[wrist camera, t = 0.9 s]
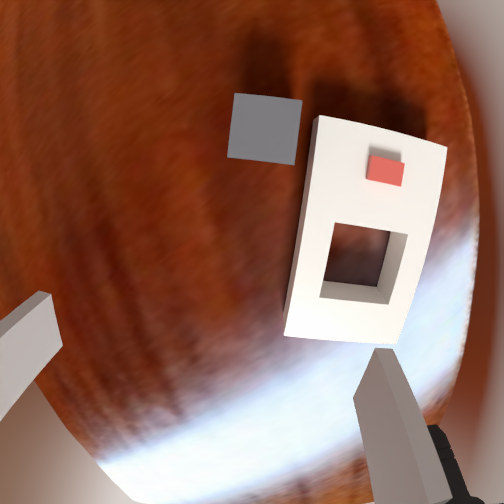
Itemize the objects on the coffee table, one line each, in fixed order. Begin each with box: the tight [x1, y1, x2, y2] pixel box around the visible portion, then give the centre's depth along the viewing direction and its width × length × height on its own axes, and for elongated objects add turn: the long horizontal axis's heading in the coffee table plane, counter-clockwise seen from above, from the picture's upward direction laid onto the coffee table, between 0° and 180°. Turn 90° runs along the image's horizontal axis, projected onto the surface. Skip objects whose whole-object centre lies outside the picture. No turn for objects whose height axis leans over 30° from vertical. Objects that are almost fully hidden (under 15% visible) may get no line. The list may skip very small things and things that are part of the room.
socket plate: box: [283, 115, 447, 344], centre depth 27 cm, size 20×12×5 cm, turn 174°
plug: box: [227, 93, 302, 165], centre depth 23 cm, size 4×4×8 cm
